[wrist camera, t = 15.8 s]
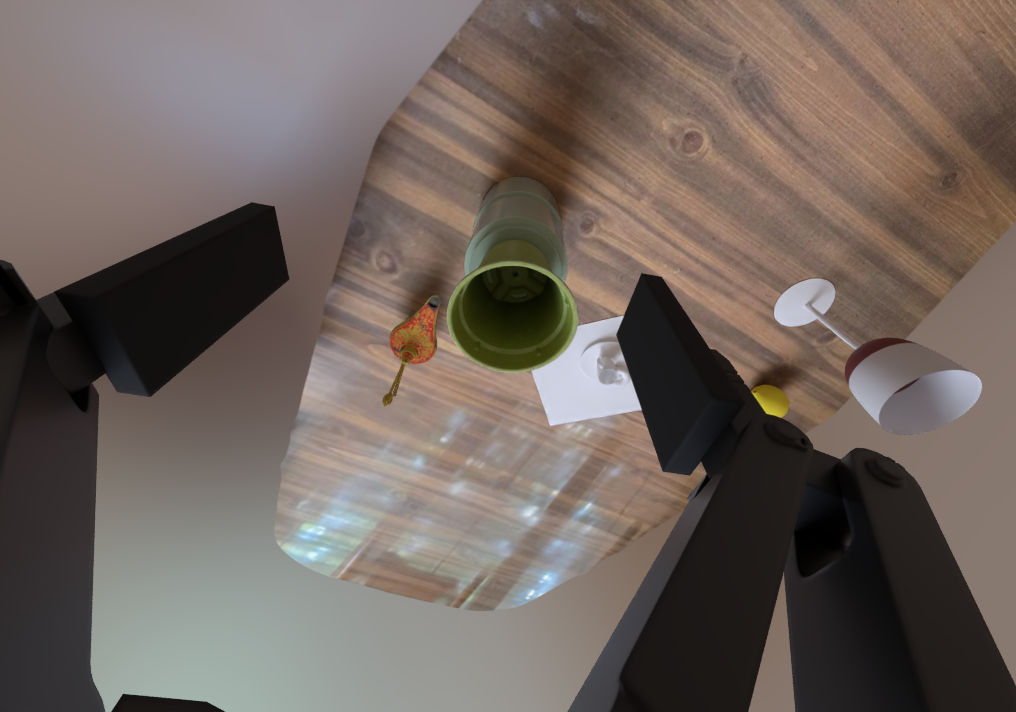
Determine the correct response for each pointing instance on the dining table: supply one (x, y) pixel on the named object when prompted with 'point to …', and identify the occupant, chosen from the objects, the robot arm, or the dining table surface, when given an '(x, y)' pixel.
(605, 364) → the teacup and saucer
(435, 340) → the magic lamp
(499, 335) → the plant pot
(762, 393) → the lemon
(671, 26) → the dining table surface
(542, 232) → the cup stack
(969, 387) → the wineglass
